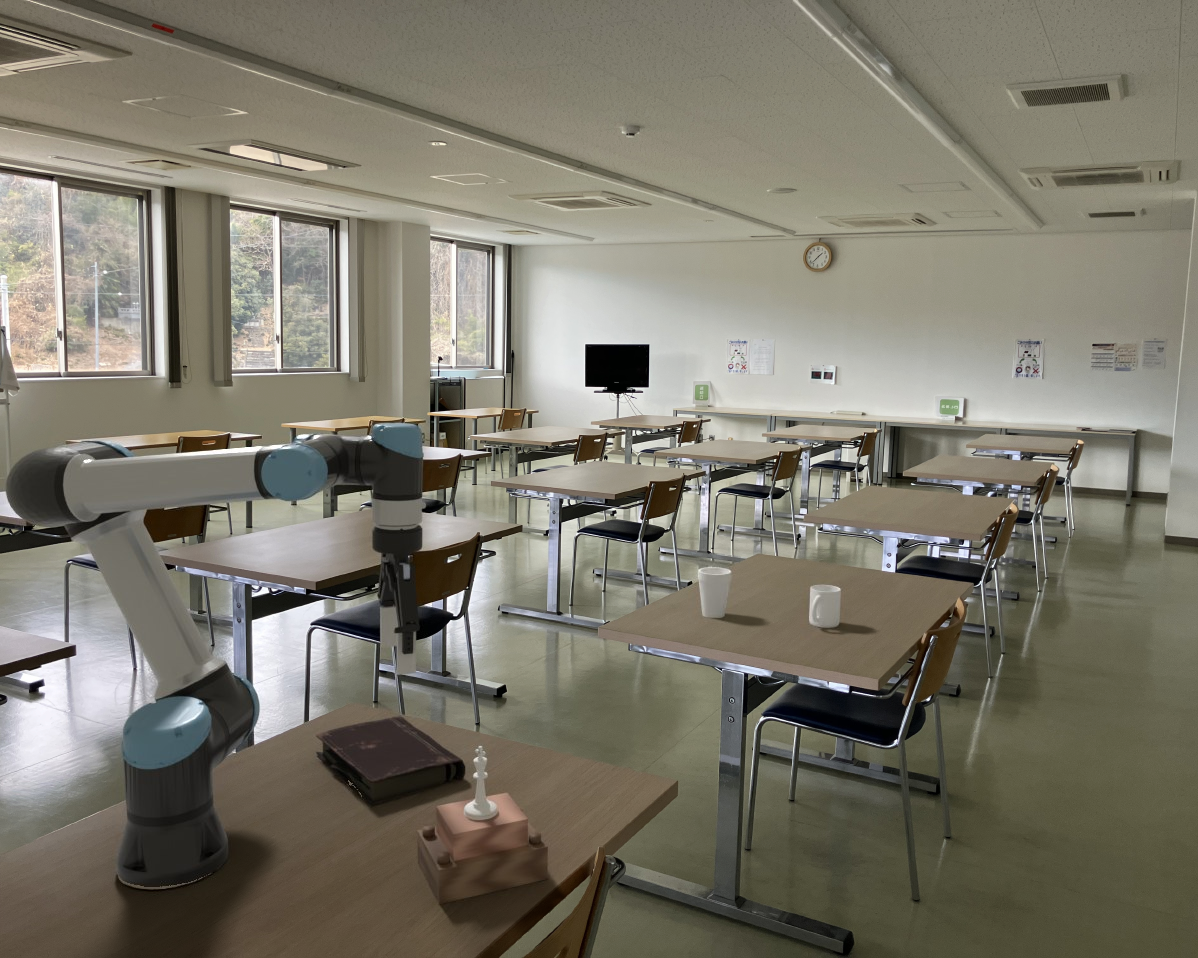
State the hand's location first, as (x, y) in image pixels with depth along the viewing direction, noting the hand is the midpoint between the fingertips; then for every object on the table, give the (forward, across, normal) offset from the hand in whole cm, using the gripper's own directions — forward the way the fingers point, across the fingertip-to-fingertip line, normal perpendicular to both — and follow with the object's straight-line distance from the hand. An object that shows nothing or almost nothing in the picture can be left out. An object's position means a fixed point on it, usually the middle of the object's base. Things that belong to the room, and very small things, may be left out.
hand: (397, 659), depth 150 cm
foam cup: (+27, +90, -108) cm, 143 cm away
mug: (+26, +70, -132) cm, 151 cm away
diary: (+29, +22, -3) cm, 36 cm away
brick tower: (+27, -17, -9) cm, 34 cm away
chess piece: (+19, -17, -9) cm, 27 cm away
